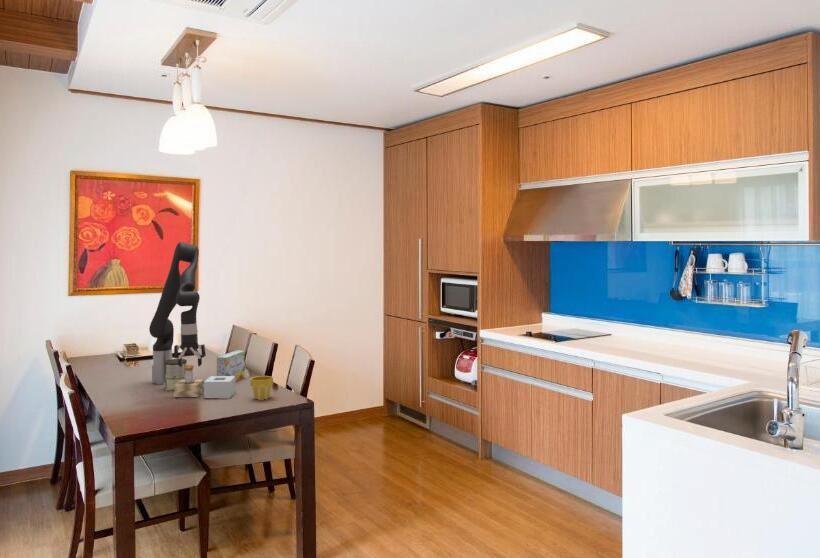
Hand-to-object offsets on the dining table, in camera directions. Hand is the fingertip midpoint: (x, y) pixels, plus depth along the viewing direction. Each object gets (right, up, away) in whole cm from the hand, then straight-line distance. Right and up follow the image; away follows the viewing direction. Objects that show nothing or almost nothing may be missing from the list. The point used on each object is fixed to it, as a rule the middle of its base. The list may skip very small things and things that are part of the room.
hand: (190, 366), depth 297 cm
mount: (-1, -14, 0) cm, 14 cm away
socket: (+14, -14, 0) cm, 20 cm away
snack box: (+11, -12, +28) cm, 33 cm away
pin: (-1, -14, 0) cm, 14 cm away
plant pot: (+36, -15, -6) cm, 39 cm away
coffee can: (-12, -13, +13) cm, 22 cm away
